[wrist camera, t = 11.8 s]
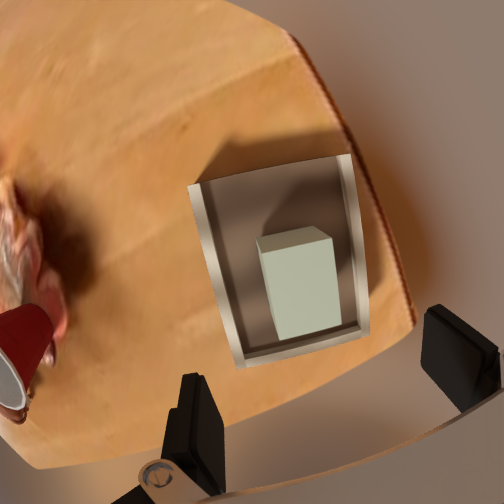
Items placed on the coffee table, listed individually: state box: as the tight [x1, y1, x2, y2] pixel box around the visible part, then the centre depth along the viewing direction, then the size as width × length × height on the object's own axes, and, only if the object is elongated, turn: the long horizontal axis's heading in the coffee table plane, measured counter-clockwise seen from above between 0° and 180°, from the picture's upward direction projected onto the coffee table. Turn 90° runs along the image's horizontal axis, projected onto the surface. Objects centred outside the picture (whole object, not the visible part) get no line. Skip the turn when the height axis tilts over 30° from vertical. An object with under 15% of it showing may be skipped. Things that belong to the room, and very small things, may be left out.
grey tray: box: [187, 154, 370, 370], centre depth 29 cm, size 18×14×5 cm
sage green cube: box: [255, 226, 342, 340], centre depth 25 cm, size 7×5×6 cm
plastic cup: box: [0, 304, 53, 410], centre depth 25 cm, size 11×11×12 cm
